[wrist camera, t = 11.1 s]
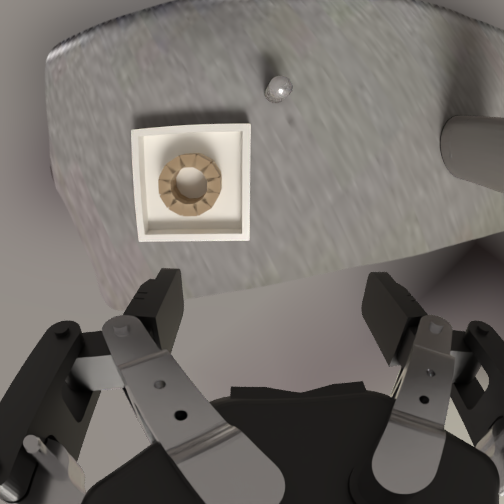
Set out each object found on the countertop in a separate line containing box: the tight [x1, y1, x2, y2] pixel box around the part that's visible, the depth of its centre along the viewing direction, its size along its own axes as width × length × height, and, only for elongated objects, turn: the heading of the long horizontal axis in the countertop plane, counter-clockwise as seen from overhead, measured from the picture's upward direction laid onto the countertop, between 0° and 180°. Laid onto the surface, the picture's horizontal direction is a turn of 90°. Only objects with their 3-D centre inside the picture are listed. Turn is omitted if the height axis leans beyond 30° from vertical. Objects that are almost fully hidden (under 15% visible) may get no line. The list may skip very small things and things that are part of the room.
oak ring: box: [158, 153, 222, 216], centre depth 30 cm, size 6×6×3 cm
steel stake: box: [265, 76, 293, 103], centre depth 27 cm, size 2×2×5 cm
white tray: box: [131, 124, 251, 242], centre depth 31 cm, size 13×13×2 cm
